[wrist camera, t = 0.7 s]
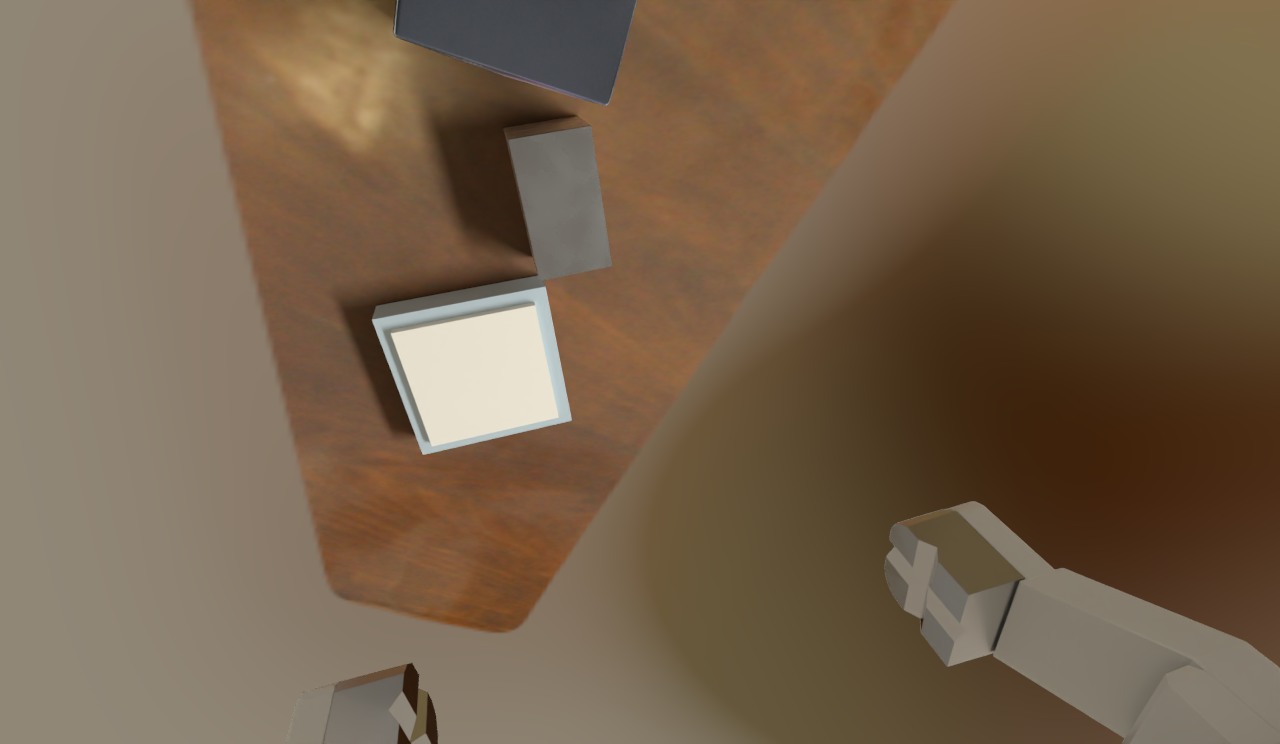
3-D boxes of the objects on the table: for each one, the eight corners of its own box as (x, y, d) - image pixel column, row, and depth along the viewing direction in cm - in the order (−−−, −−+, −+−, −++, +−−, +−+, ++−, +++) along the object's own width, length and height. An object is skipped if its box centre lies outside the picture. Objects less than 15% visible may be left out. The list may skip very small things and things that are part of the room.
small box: (405, 37, 35) (385, 41, 26) (420, -94, 32) (404, -138, 23) (576, 93, 39) (609, 113, 30) (603, -20, 36) (648, -34, 27)
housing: (503, 127, 39) (508, 139, 35) (577, 115, 40) (590, 125, 35) (532, 256, 44) (539, 281, 39) (597, 243, 44) (611, 265, 40)
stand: (376, 305, 42) (370, 323, 40) (541, 274, 44) (546, 289, 42) (424, 437, 49) (422, 459, 46) (567, 404, 50) (573, 424, 48)
